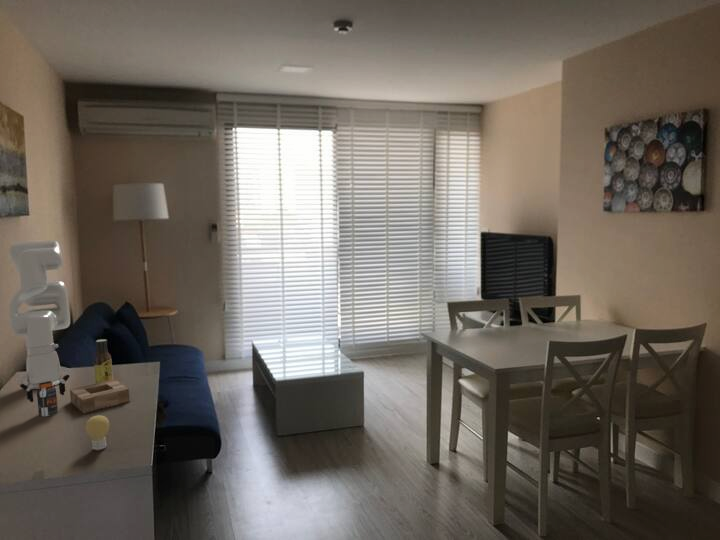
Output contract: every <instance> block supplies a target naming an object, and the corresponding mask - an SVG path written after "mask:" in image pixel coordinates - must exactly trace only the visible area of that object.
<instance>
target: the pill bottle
mask: <svg viewBox="0 0 720 540" xmlns="http://www.w3.org/2000/svg"><path fill="white" fill-rule="evenodd" d="M39 388H40V389H37V390H36V397H37V406H38V407H37V408H38V415H39V416H40V417H50V416H53V415H56V414H57V413H58V412H59V408H58V397H57V389H56V387H54V386H52V382H51V381H50V382H45V383H40V384H39Z"/></svg>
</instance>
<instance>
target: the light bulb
mask: <svg viewBox="0 0 720 540" xmlns="http://www.w3.org/2000/svg"><path fill="white" fill-rule="evenodd" d="M109 429H110V421H109V419H108V418H107V417H106V416H105V415H101V414H99V415H94V416H92V417H90V418H89V419H88V420H87V422H86V424H85V433H86V434H87V435H88V436H89V437H90V438H91V444H92V449H93V450H94V451H101V450H104V449H105V448H106V447H107V440H106V439H107V438H106V435H107V433H108V432H109Z"/></svg>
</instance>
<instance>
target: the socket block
mask: <svg viewBox="0 0 720 540" xmlns="http://www.w3.org/2000/svg"><path fill="white" fill-rule="evenodd" d="M69 395H70V396H69V398H70V403H71V402H72V403H73V404H74V407H75V408H77V409H78V408H79V409H80V410H81V411H82V412H83V413H82V412H81V411H80V410H79V409H78V410H79V411H80V412H81V413H82V414H85V413H84V412H87V411H91V410H95V409H99V410H101V409H100V408H103V409H106V408H105V407H107V408H109V407H110V406H111V407H113V406H118V405H122V404H126V403H130V402H131V399H130V388H128V387H127V386H125V385H124V384H122V383H121V382H120V381H118V380H116V379H114V378H113V380H110V381H105V382H101V383H96V382H95V383H92V384H88V385H83V386H79V387H74V388H70V389H69ZM125 402H126V403H125ZM121 403H122V404H121ZM73 404H72V405H73ZM95 411H96V410H95ZM91 412H92V411H91ZM87 413H88V412H87Z"/></svg>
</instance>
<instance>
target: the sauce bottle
mask: <svg viewBox="0 0 720 540" xmlns="http://www.w3.org/2000/svg"><path fill="white" fill-rule="evenodd" d="M95 346H96V354H95V356H94V359H93V362H94V365H93V367H94V377H95V384H96V383H101V382H105V381H110V380H114V375H113V364H112V363H113V361H112V356H111V354H110V353H109V351H108V339H105V338H104V339H103V338H102V339H97V340H95Z"/></svg>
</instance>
